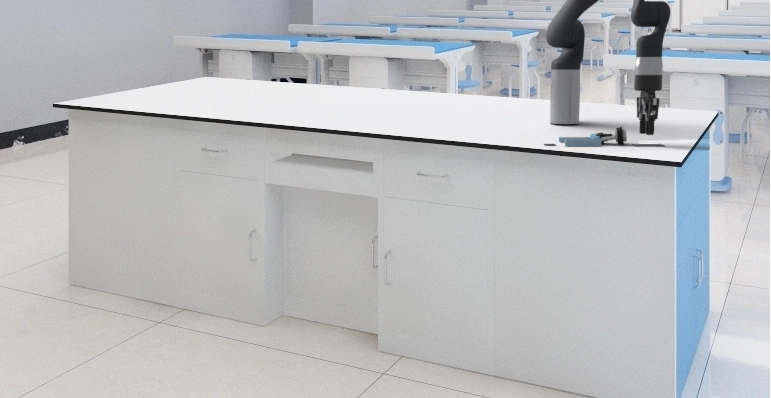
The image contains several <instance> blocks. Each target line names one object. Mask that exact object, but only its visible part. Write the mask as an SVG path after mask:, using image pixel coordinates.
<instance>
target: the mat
mask: <svg viewBox="0 0 771 398" xmlns="http://www.w3.org/2000/svg"><path fill="white" fill-rule="evenodd" d="M631 145H632V146H633V147H665V144H662V143H658V144H639V143H631Z"/></svg>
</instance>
